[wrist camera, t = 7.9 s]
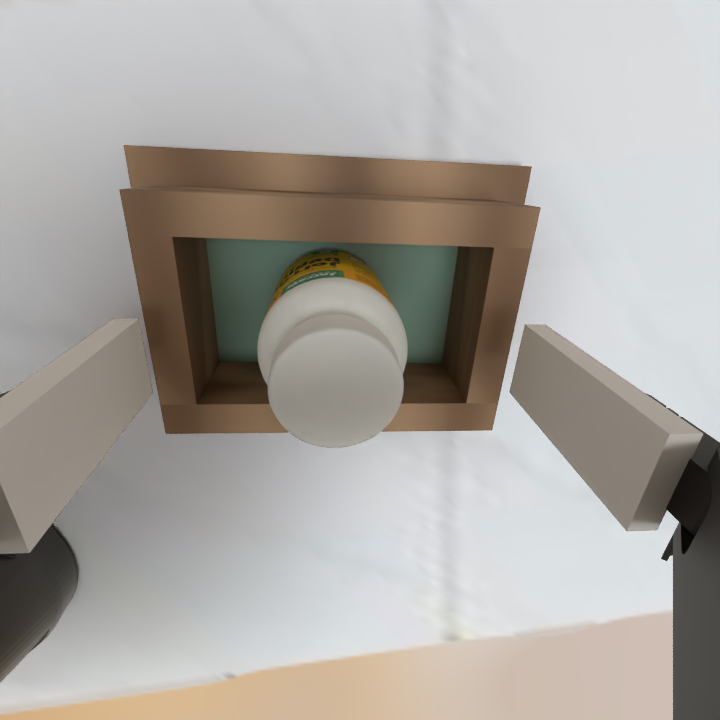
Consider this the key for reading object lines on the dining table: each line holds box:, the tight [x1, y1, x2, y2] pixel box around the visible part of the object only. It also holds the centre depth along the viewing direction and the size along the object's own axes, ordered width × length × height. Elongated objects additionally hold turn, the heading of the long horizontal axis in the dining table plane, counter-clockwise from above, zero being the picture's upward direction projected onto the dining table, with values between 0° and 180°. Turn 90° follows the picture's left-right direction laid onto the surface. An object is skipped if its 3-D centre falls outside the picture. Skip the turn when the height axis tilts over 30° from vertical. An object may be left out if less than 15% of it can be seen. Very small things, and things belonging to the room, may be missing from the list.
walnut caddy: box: [120, 145, 540, 434], centre depth 19 cm, size 18×13×6 cm
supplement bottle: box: [257, 248, 408, 448], centre depth 16 cm, size 5×5×10 cm
